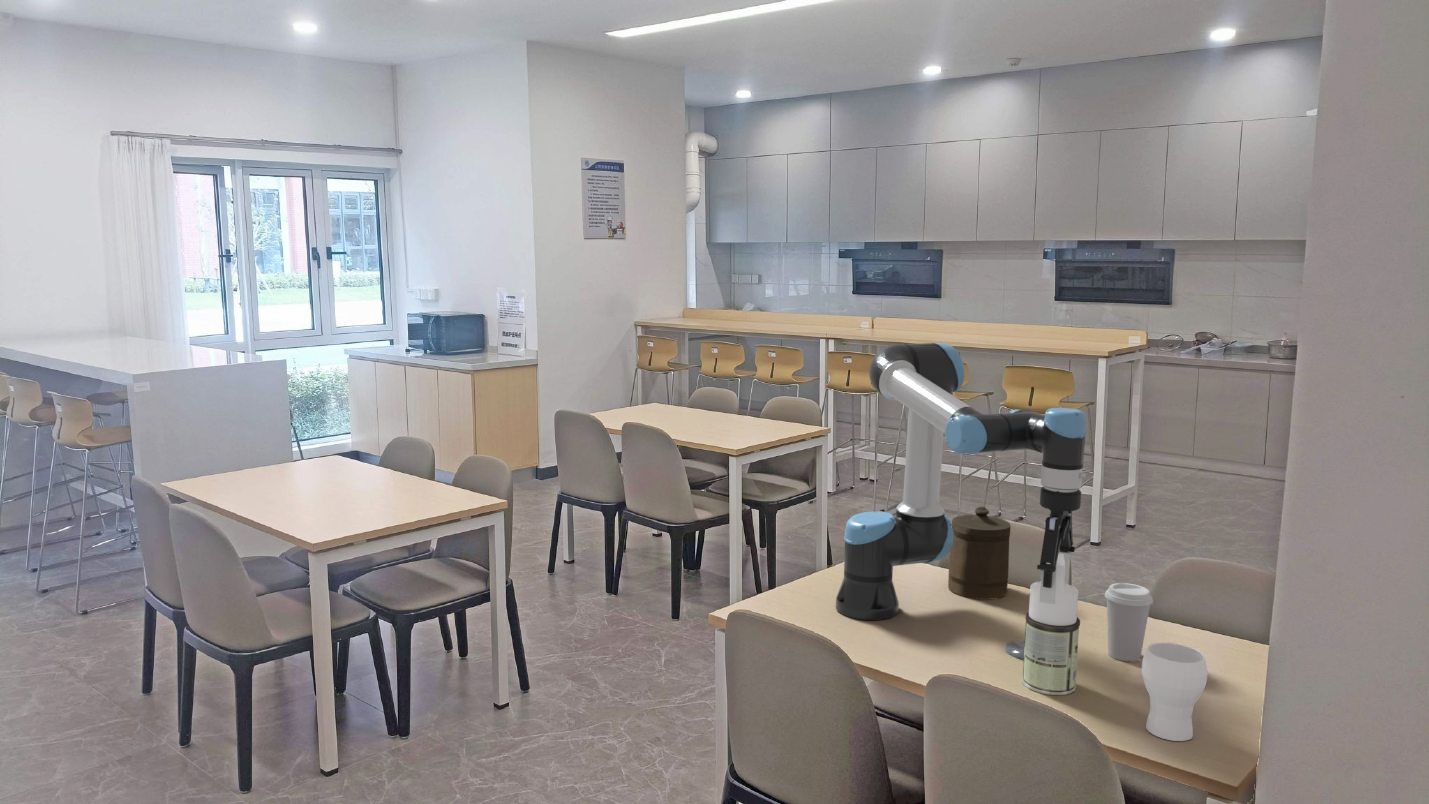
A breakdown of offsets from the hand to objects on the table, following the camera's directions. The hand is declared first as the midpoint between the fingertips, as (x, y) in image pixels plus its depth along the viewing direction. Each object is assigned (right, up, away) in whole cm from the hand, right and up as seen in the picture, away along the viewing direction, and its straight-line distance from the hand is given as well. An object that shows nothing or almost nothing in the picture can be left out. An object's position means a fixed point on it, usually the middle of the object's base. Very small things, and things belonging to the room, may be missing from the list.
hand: (1054, 592), depth 193 cm
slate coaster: (+1, -17, +19) cm, 25 cm away
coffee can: (0, -19, +3) cm, 19 cm away
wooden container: (+1, -11, +59) cm, 61 cm away
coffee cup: (+21, -17, +18) cm, 33 cm away
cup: (+15, -22, -16) cm, 31 cm away
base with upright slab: (0, -5, +1) cm, 5 cm away
